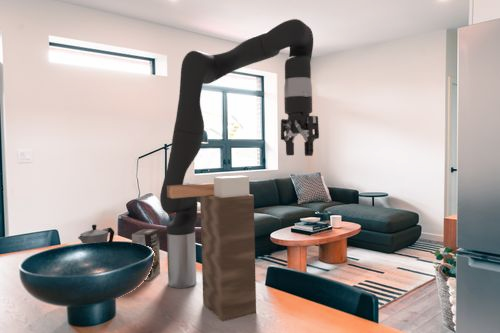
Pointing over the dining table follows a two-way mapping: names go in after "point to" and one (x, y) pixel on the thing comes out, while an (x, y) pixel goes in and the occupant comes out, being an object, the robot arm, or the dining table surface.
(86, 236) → the coffeepot
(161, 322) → the dining table surface
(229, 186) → the block
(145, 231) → the coffee box
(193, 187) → the bar
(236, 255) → the stand
